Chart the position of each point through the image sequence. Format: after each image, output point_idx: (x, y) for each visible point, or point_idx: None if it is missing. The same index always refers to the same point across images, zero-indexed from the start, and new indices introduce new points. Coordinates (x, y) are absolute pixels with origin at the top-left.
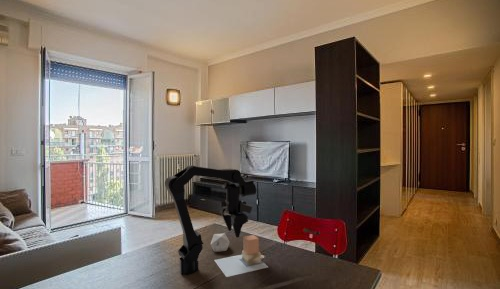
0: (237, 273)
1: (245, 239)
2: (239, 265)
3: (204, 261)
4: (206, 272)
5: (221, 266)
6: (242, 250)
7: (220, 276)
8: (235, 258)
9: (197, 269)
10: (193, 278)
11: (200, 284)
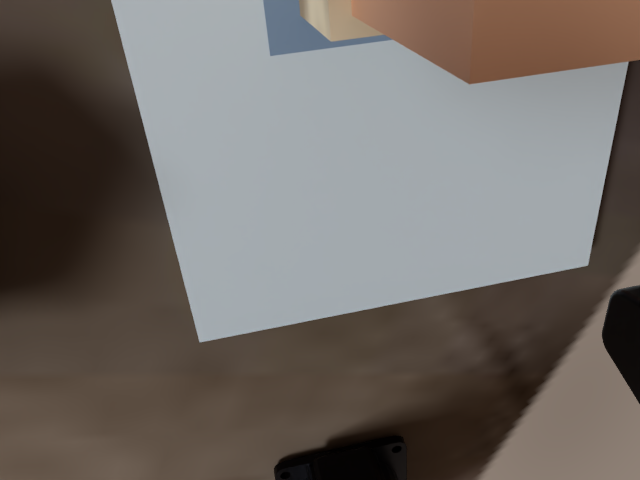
0: (591, 161)
1: (621, 54)
2: (445, 98)
3: (147, 402)
4: (378, 384)
5: (380, 286)
6: (340, 32)
7: (497, 291)
8: (230, 100)
9: (374, 464)
10: (425, 454)
11: (525, 413)
